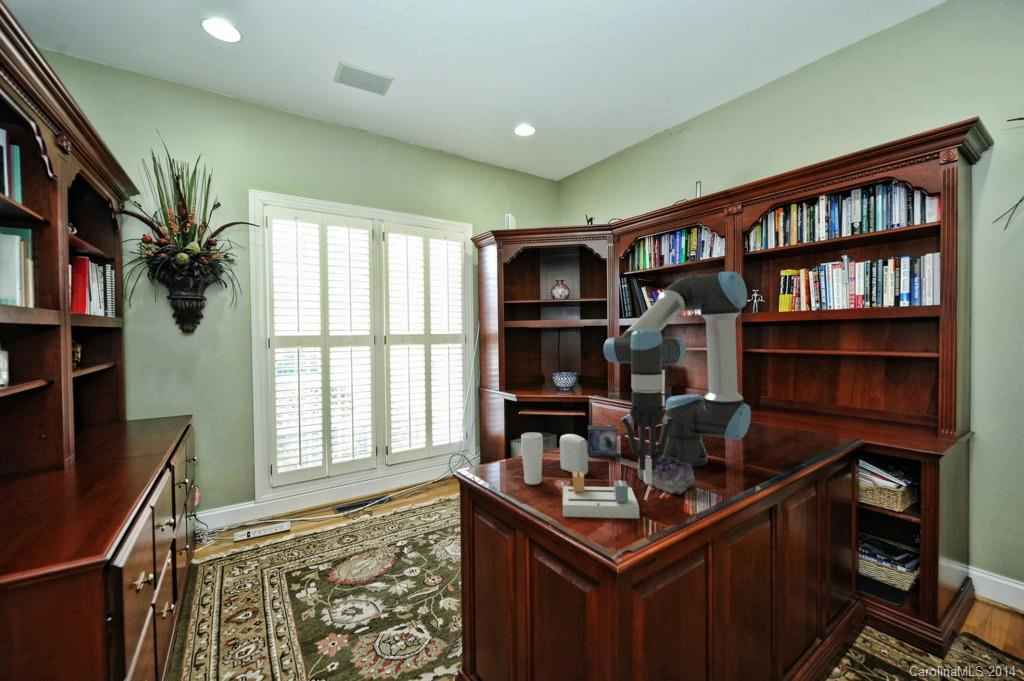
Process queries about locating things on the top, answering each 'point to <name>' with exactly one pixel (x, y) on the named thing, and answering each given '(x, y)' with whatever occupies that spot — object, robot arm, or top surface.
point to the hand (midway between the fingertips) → (647, 482)
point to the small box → (602, 441)
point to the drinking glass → (532, 457)
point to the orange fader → (578, 481)
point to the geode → (670, 475)
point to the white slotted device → (573, 453)
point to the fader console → (598, 503)
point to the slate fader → (620, 491)
